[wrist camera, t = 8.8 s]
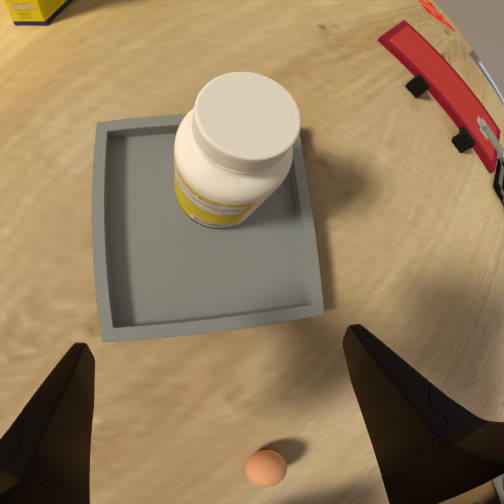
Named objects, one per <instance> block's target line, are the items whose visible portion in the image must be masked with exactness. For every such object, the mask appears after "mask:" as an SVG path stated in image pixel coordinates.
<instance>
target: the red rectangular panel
mask: <svg viewBox="0 0 504 504" xmlns="http://www.w3.org/2000/svg"><path fill="white" fill-rule="evenodd" d="M377 41H379V42H380V43H381V44H382V45H383V46H384V47H385V48H386V49H387V50H389V51H390V52H391V53H392V54H393V55H394V56H395V57H396V58H397V59H398V60H399V61H400V62H401V63H402V64H403V65H404V66H405V67H406V68H407V69H408V70H409V71H410V72H411V73H412V74H413V75H414V76H415V77H414V78H413V79H412V80H411V81H409V82H408V83H407V84H406V86H405V87H406V88H407V89H408V90H409V91H410V92H411V93H412V94H413V95H414V97H415V98H417V97H419V96H420V95H421V94H423V93H424V92H425V91H427V90H428V91H429V92H430V94H431V95H432V96H433V97H434V98H435V99H436V101H437V102H438V103H439V104H440V105H441V106H442V108H443V109H444V110H445V111H446V113H447V114H448V115H449V116H450V118H451V119H452V120H453V121H454V123H455V124H456V125H457V126H458V128H459V132H460V134H458V135H456V136H454V137H453V138H452V143H453V144H454V145H455V147H456V148H457V149H458V151H459V152H460V153H461V152H463V151H466V150H468V149H470V148H472V147H473V148H474V150H475V151H476V153H477V154H478V156H479V157H480V159H481V160H482V162H483V163H484V165H485V166H486V168H487V169H488V171H489V173H491V172H493V171H495V166H496V160H497V159H498V158H499V159H498V165H497V171H496V177H495V182H494V187H495V188H496V190H497V192H498V194H499V195H500V197H501V199H502V201H503V203H504V158H503V153H504V149H503V148H502V146H501V144H500V143H499V139H500V130H499V128H498V127H497V125H496V124H495V122H494V121H493V119H492V118H491V116H490V115H489V113H488V112H487V111H486V109H485V108H484V106H483V105H482V104H481V102H480V101H479V100H478V98H477V97H476V96H475V94H474V93H473V92H472V91H471V89H470V88H469V87H468V86H467V84H466V83H465V82H464V81H463V79H462V78H461V77H460V76H459V75H458V74H457V72H456V71H455V70H454V69H453V68H452V67H451V66H450V64H449V63H448V62H447V61H446V60H445V59H444V58H443V57H442V56H441V55H440V54H439V53H438V52H437V51H436V49H435V48H434V47H433V46H432V45H431V44H430V43H429V42H428V41H427V40H425V39H424V38H423V37H422V36H421V35H420V34H419V33H418V32H417V31H416V30H415V29H414V28H413V27H412V26H410V25H409V24H408V23H407V22H406V21H405V20H404V21H402V22H401V23H399V24H398V25H396V26H395V27H393V28H392V29H391V30H389V31H388V32H386V33H385V34H384V35H382V36H381V37H380V38H379V39H378V40H377Z"/></svg>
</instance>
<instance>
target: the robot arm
mask: <svg viewBox="0 0 504 504" xmlns="http://www.w3.org/2000/svg"><path fill="white" fill-rule="evenodd" d="M343 349H344V353H345V357H346V362H347V366H348V370H349V375H350V379H351V383H352V386H353V389H354V392H355V395H356V397H357V400H358V403H359V406H360V409H361V412H362V415H363V418H364V421H365V424H366V427H367V430H368V433H369V436H370V440H371V443H372V446H373V449H374V452H375V455H376V459H377V462H378V465H379V468H380V472H381V474H382V475H381V476H382V479H383V482H384V486H385V489H386V493H387V496H388V500H389V503H390V504H504V422H493V421H487V420H484V419H481V418H479V417H477V416H476V415H474V414H473V413H471V412H470V411H468V410H467V409H465V408H464V407H462V406H461V405H459V404H458V403H456V402H455V401H454V400H452V399H451V398H449V397H448V396H447V395H445V394H444V393H443V392H442V391H440V390H439V389H438V388H437V387H435V386H434V385H433V384H432V383H431V382H429V381H428V380H427V379H426V378H425V377H423V376H422V375H421V374H420V373H419V372H417V371H416V370H415V369H414V368H413V367H411V366H410V365H409V364H408V363H407V362H405V361H404V360H403V359H402V358H401V357H399V356H398V355H397V354H396V353H395V352H393V351H392V350H391V349H390V348H389V347H387V346H386V345H385V344H384V343H383V342H381V341H380V340H379V339H378V338H377V337H375V336H374V335H373V334H372V333H370V332H369V331H368V330H367V329H366V328H364V327H363V326H362V325H360V324H354V325H349V326H348V328H347V330H346V333H345V335H344V338H343ZM94 381H95V359H94V356H93V354H92V352H91V351H90V349H89V347H88V345H87V344H86V343H75V344H73V346H72V347H71V348H70V349H69V350H68V352H67V353H66V354H65V355H64V357H63V358H62V359H61V360H60V361H59V363H58V364H57V365H56V367H55V368H54V369H53V370H52V372H51V373H50V374H49V375H48V377H47V378H46V379H45V381H44V382H43V383H42V384H41V386H40V387H39V388H38V390H37V391H36V392H35V394H34V395H33V396H32V398H31V399H30V400H29V402H28V403H27V405H26V406H25V407H24V409H23V410H22V411H21V413H20V414H19V415H18V417H17V418H16V420H15V421H14V422H13V424H12V425H11V426H10V428H9V429H8V430H7V432H6V433H5V434H4V435H3V437H2V438H1V439H0V504H90V501H89V500H90V487H89V482H90V447H91V432H92V419H93V409H94Z"/></svg>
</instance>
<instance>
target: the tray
mask: <svg viewBox="0 0 504 504" xmlns="http://www.w3.org/2000/svg"><path fill="white" fill-rule="evenodd" d="M185 116H186V115H170V116H154V117H142V118H131V119H122V120H113V121H105V122H98V123H97V128H96V137H95V148H94V162H93V182H92V241H93V261H94V276H95V287H96V297H97V306H98V314H99V321H100V328H101V335H102V341H103V342H113V341H129V340H142V339H155V338H166V337H176V336H186V335H195V334H204V333H212V332H220V331H228V330H235V329H242V328H249V327H256V326H263V325H269V324H275V323H281V322H287V321H293V320H299V319H304V318H310V317H315V316H320V315H324V307H323V297H322V287H321V277H320V268H319V259H318V251H317V243H316V235H315V228H314V220H313V213H312V206H311V199H310V193H309V186H308V180H307V174H306V168H305V162H304V156H303V151H302V145H301V140H300V134H299V135H298V137H297V140H296V141H295V143H294V144H293V146H292V147H293V158H292V164H291V167H290V170H289V172H288V174H287V176H286V178H285V179H284V181H283V182H282V183H281V185H280V186H279V187H278V188H277V189H276V190H275V191H274V192H273V193H272V194H271V195H270V196H269V197H268V198H267V199H266V200H265V201H264V202H263V203H262V204H261V205H260V206H259V207H258V208H257V209H256V210H255V211H254V212H253V213H252V214H251V215H250V216H249V217H248V218H247V219H245V220H244V221H243V222H241V223H240V224H238V225H236V226H234V227H232V228H228V229H223V230H212V229H207V228H203V227H201V226H199V225H197V224H195V223H194V222H192V221H191V220H190V219H189V218H188V217H187V216H186V215H185V214H184V213H183V211H182V210H181V208H180V206H179V204H178V201H177V197H176V191H175V172H174V144H175V137H176V133H177V130H178V128H179V126H180V124H181V122H182V120H183V119H184V117H185Z"/></svg>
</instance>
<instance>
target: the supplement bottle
mask: <svg viewBox="0 0 504 504" xmlns="http://www.w3.org/2000/svg"><path fill="white" fill-rule="evenodd" d="M300 126H301V117H300V112H299V109H298V107H297V104H296V102H295V100H294V99H293V97H292V96H291V95H290V93H289V92H288V91H287V90H286V89H285V88H283V87H282V86H281V85H280V84H278V83H277V82H275V81H274V80H272V79H270V78H268V77H265V76H263V75H260V74H256V73H250V72H232V73H227V74H224V75H221V76H218V77H216V78H215V79H213V80H211V81H210V82H209V83H207V84H206V85H205V86H204V87H203V89H202V90H201V91H200V93H199V94H198V97H197V99H196V102H195V107H194V108H193V109H192V110H191V111H190V112H189V113H188V114H187V115H186V116H185V117H184V119H183V120H182V122H181V124H180V126H179V128H178V130H177V133H176V137H175V144H174V172H175V191H176V197H177V201H178V204H179V206H180V208H181V210H182V211H183V213H184V214H185V215H186V216H187V217H188V218H189V219H190V220H191V221H192V222H194V223H195V224H197V225H199V226H201V227H203V228H207V229H212V230H223V229H228V228H232V227H234V226H236V225H238V224H240V223H241V222H243V221H244V220H245V219H247V218H248V217H249V216H250V215H251V214H252V213H253V212H254V211H255V210H256V209H257V208H258V207H259V206H260V205H261V204H262V203H263V202H264V201H265V200H266V199H267V198H268V197H269V196H270V195H271V194H272V193H273V192H274V191H275V190H276V189H277V188H278V187H279V186H280V185H281V183H282V182H283V181H284V179H285V178H286V176H287V174H288V172H289V170H290V167H291V164H292V158H293V147H292V146H293V144H294V143H295V141H296V140H297V137H298V135H299V132H300Z"/></svg>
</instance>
